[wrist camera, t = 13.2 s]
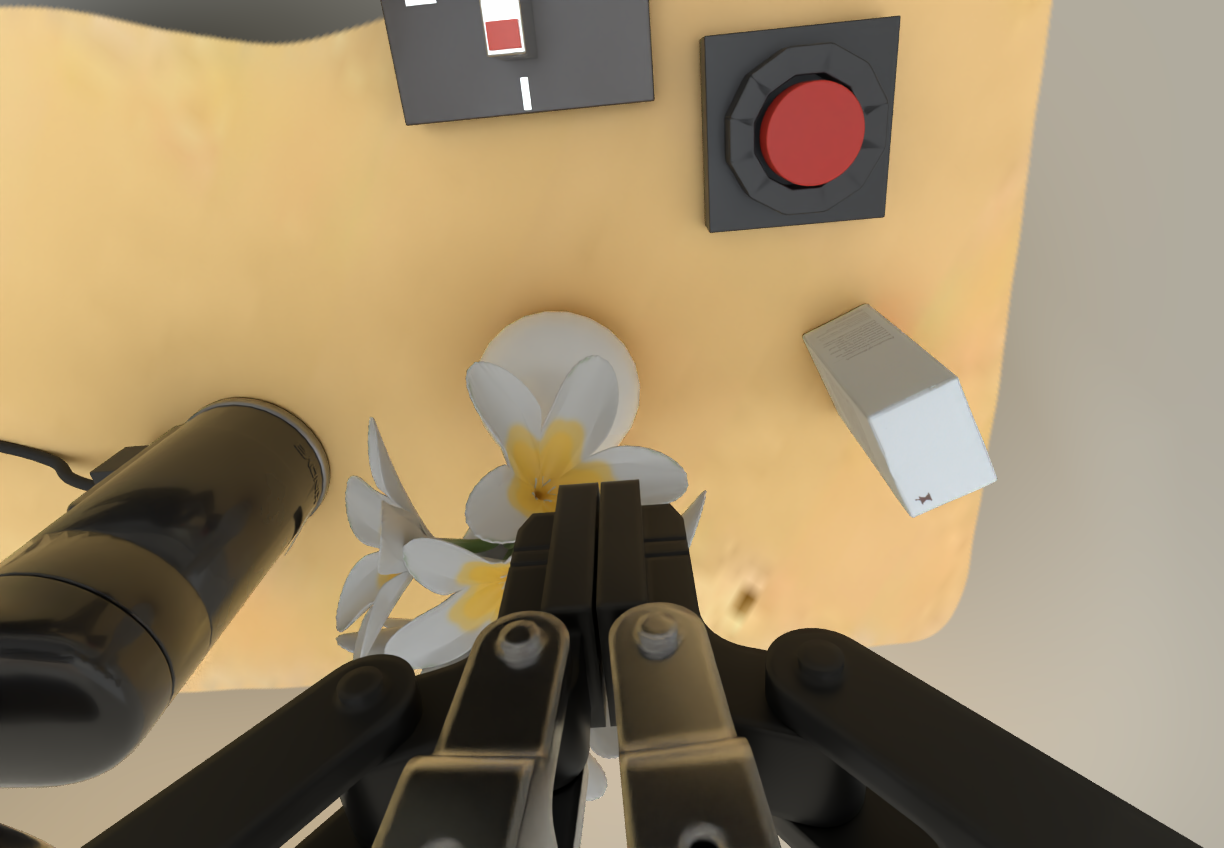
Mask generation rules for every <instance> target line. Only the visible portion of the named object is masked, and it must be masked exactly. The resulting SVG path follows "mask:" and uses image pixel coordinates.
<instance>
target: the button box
mask: <svg viewBox="0 0 1224 848" xmlns="http://www.w3.org/2000/svg"><path fill="white" fill-rule="evenodd" d="M900 18H901V17H900V16H891V17H882V18H872V19H863V20H853V21H844V22H834V23H825V24H815V25H806V26H796V27H787V28H777V29H768V30H758V31H748V32H739V33H729V34H720V35H710V36H705V37H703V38H702V39H700V72H701V104H702V137H703V170H704V203H705V226H706V227H707V229H708V230H709V232H710V233H714V232H725V231H736V230H748V229H759V228H770V227H781V226H792V225H803V224H814V223H826V222H837V221H848V220H859V219H870V218H881V217H884V216H885V204H886V191H887V179H888V167H889V154H890V142H891V129H892V117H893V105H894V92H895V80H896V67H897V55H898V43H899V30H900ZM812 80H829V81H833V82H837V83H839V84H841V85H843V86H844V87H846V88H848V89H849V90H850V91H851V92H852V93H853V94H854V95H855V97H856V98H857V100H858V101H859V103H860V105H861V108H862V110H863V114H864V120H865V133H864V139H863V143H862V146H861V148H860V151H859V153H858V155H857V157H856V158H855V160H854V161H853V163H852V164H851V165H850V166H849V168H848V169H847V170H846V171H845V172H844V173H842V174H841V175H840V176H838V177H837V178H835V179H834V180H832V181H830V182H827V183H825V184H821V185H817V186H801V185H797V184H794V183H792V182H789V181H787V180H786V179H784V178H782V177H780V176H778V175H777V174H776V173H775V172H773V171H772V170H771V168H770V167H769V166H768V165H767V163H766V162H765V159H764V157H763V155H762V152H761V148H760V138H759V137H760V127H761V123H762V120H763V117H764V115H765V112H766V110H767V109H768V107H769V105H770V104H771V103H772V101H773V100H774V99H775V98H776V97H777V96H778V95H779V94H780V93H781V92H782V91H784V90H785V89H787V88H788V87H790V86H792V85H794V84H797V83H800V82H804V81H812Z"/></svg>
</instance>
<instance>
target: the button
mask: <svg viewBox="0 0 1224 848" xmlns="http://www.w3.org/2000/svg"><path fill="white" fill-rule="evenodd" d="M864 133H865V120H864V114H863V110H862V108H861V105H860V103H859V101H858V100H857V98H856V97H855V95H854V94H853V93H852V92H851V91H850V90H849V89H848V88H846V87H844V86H843V85H841V84H839V83H837V82H833V81H829V80H812V81H804V82H800V83H797V84H794V85H792V86H790V87H788V88H787V89H785V90H784V91H782V92H781V93H780V94H779V95H778V96H777V97H776V98H775V99H774V100H773V101H772V103H771V104H770V105H769V107H768V109H767V110H766V112H765V115H764V117H763V120H762V123H761V127H760V137H759V138H760V148H761V152H762V155H763V157H764V159H765V162H766V163H767V165H768V166H769V167H770V168H771V170H772V171H773V172H775V173H776V174H777V175H778V176H780V177H782V178H784V179H786V180H787V181H789V182H792V183H794V184H797V185H801V186H817V185H821V184H825V183H827V182H830V181H832V180H834V179H835V178H837V177H838V176H840V175H841V174H842V173H844V172H845V171H846V170H847V169H848V168H849V166H850V165H851V164H852V163H853V161H854V160H855V158H856V157H857V155H858V153H859V151H860V148H861V146H862V143H863V139H864Z"/></svg>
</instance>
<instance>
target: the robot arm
mask: <svg viewBox="0 0 1224 848" xmlns="http://www.w3.org/2000/svg"><path fill="white" fill-rule="evenodd" d="M0 452H2V453H6V454H11V455H15V456H19V457H23V458H26V459H30V460H33V461H36V462H39V463H42V464H45V465H47V466H50V467H52V468H53V469H55V471H56V472H57V474H58V476H59V477H60V478H61V479H62V480H63V481H64V482H65V483H67V484H69V485H71V486H73V487H76V488H79V489H82V490H85V491H87V492H85V493H84V494H83V495H81V496H80V497H79V498H77V499H76V500H75V501H73V502H72V503H71V504H70V505H69V506H68V509H67V513H65V514H64V515H63V516H61V517H60V518H59V519H57V520H56V521H55V522H53V523H52V524H51V525H49V526H48V527H47V528H45V529H44V530H43V531H41V532H40V533H39V534H37V535H36V536H35V537H34V538H32V539H31V540H30V541H28V542H27V543H26V544H25V545H23V546H22V547H21V548H19V549H18V550H17V551H15V552H14V553H13V554H11V555H10V556H9V557H7V558H6V559H5V560H3V561H2V562H1V563H0V789H4V788H44V787H57V786H64V785H70V784H75V783H78V782H83V781H86V780H89V779H92V778H94V777H97V776H99V775H101V774H103V773H105V772H107V771H109V770H111V769H112V768H114V767H115V766H117V765H118V764H119V763H121V762H122V761H123V760H124V759H125V758H127V757H128V756H129V755H130V754H131V753H132V752H133V751H134V750H135V749H136V748H137V746H138V745H139V744H140V743H141V742H142V741H143V739H144V738H145V737H146V735H147V734H148V733H149V731H150V730H151V729H152V727H153V726H154V724H155V723H156V722H157V721H158V719H159V718H160V716H161V715H162V714H163V713H164V711H165V709H166V708H167V707H168V706H169V704H170V703H171V702H172V700H173V699H174V698H175V696H176V695H177V694H178V692H179V691H180V690H181V688H182V687H183V686H184V684H185V683H186V682H187V680H188V679H189V678H190V676H191V675H192V674H193V672H194V671H195V670H196V668H197V667H198V665H199V664H200V663H201V661H202V660H203V659H204V657H205V656H206V654H207V653H208V652H209V650H210V649H211V648H212V646H213V645H214V644H215V642H216V641H217V640H218V638H219V637H220V636H221V634H222V633H223V631H224V630H225V629H226V627H227V626H228V625H229V623H230V622H231V621H232V619H233V618H234V617H235V615H236V614H237V613H238V611H239V610H240V609H241V607H242V606H243V605H244V603H245V602H246V601H247V599H248V598H249V597H250V595H251V594H252V593H253V591H254V590H255V588H256V587H257V586H258V584H259V583H260V582H261V580H262V579H263V578H264V576H265V575H266V574H267V572H268V571H269V570H270V568H271V567H272V566H273V564H274V563H275V562H276V560H277V559H278V558H279V556H280V555H281V554H282V552H283V551H284V550H285V548H286V547H287V545H288V544H289V543H290V541H291V540H292V539H293V538H294V536H295V535H296V536H295V538H294V540H293V541H292V543H291V545H290V547H289V549H290V548H291V547H292V545H293V543H294V541H295V539H296V538H297V536H298V534H299V532H300V531H301V529H302V527H303V525H304V523H305V522H306V520H307V519H308V518H309V517H310V516H311V515H312V514H313V513H314V512H315V511H316V509H317V508H318V507H319V505H320V504H321V503H322V501H323V500H324V498H325V496H326V493H327V491H328V487H329V481H330V470H329V464H328V460H327V457H326V454H325V452H324V450H323V448H322V446H321V444H320V442H319V441H318V439H317V438H316V437H315V435H314V434H313V433H312V432H311V431H310V429H309V428H308V427H307V426H306V425H305V424H304V423H302V422H301V421H300V420H299V419H298V418H296V417H295V416H293V415H292V414H290V413H289V412H287V411H285V410H283V409H281V408H279V407H277V406H275V405H273V404H270V403H267V402H264V401H260V400H255V399H249V398H230V399H224V400H220V401H217V402H214V403H211V404H209V405H207V406H206V407H204V408H202V409H201V410H200V411H198V412H197V413H196V414H194V415H193V416H192V417H191V418H190V419H189V420H188V421H187V422H186V423H185V424H184V425H182V426H175V427H173V428H172V429H171V430H169V431H168V432H166V433H165V434H164V435H162V436H161V437H160V438H158V439H157V440H156V441H154V442H153V443H152V444H150V445H147V446H134V447H125V448H124V449H122V450H121V451H119V452H118V453H117V454H115V455H114V456H112V457H111V458H110V459H108V460H107V461H105V462H104V463H103V464H101V465H100V466H98V467H97V468H95V469H94V470H93V471H91V472H90V475H91V477H92V479H93V480H91V479H87V478H84V477H81V476H79V475H77V474H75V473H73V472H72V471H71V469H70V467H69V466H68V464H67V463H66V462H65V461H64V460H62V459H61V458H59V457H57V456H54V455H51V454H49V453H46V452H43V451H40V450H36V449H33V448H29V447H25V446H21V445H17V444H13V443H8V442H4V441H0ZM297 532H298V533H297ZM289 549H288V550H287V552H288V551H289ZM287 552H286V553H287ZM285 555H286V554H285ZM606 701H607V702H608V710H609V718H610V727H612V726H617V734H618V745H619V762H620V775H621V785H622V795H623V805H624V816H625V828H626V839H627V848H781V845H780V842H779V838H778V835H779V836H780V838H781V839H782V840H784V841H785V842H786V843H787V844H788V845H789V846H790V847H791V848H1203V847H1201V846H1200V845H1198V844H1196V843H1194V842H1193V841H1191V840H1190V839H1188V838H1186V837H1184V836H1183V835H1181V834H1179V833H1178V832H1176V831H1174V830H1173V829H1171V828H1169V827H1167V826H1166V825H1164V824H1163V823H1161V822H1159V821H1157V820H1156V819H1154V818H1152V817H1151V816H1149V815H1147V814H1146V813H1144V812H1142V811H1140V810H1139V809H1137V808H1135V807H1134V806H1132V805H1131V804H1129V803H1127V802H1126V801H1124V800H1122V799H1120V798H1119V797H1117V796H1115V795H1114V794H1112V793H1110V792H1109V791H1107V790H1105V789H1104V788H1102V787H1100V786H1099V785H1097V784H1095V783H1093V782H1092V781H1090V780H1088V779H1087V778H1085V777H1083V776H1082V775H1080V774H1078V773H1077V772H1075V771H1073V770H1071V769H1070V768H1068V767H1067V766H1065V765H1063V764H1062V763H1060V762H1058V761H1056V760H1054V759H1053V758H1051V757H1050V756H1048V755H1046V754H1045V753H1043V752H1041V751H1040V750H1038V749H1036V748H1035V747H1033V746H1031V745H1030V744H1028V743H1026V742H1024V741H1023V740H1021V739H1019V738H1018V737H1016V736H1014V735H1013V734H1011V733H1009V732H1008V731H1006V730H1004V729H1003V728H1001V727H999V726H997V725H996V724H994V723H992V722H991V721H989V720H987V719H986V718H984V717H982V716H981V715H979V714H977V713H976V712H974V711H972V710H970V709H969V708H967V707H966V706H964V705H962V704H960V703H959V702H957V701H955V700H954V699H952V698H950V697H949V696H947V695H945V694H944V693H942V692H940V691H939V690H936V689H935V688H934V687H932V686H930V685H928V684H927V683H925V682H923V681H922V680H920V679H918V678H917V677H915V676H913V675H912V674H910V673H908V672H907V671H905V670H903V669H902V668H900V667H898V666H896V665H895V664H893V663H891V662H890V661H888V660H886V659H885V658H883V657H881V656H880V655H878V654H876V653H875V652H873V651H871V650H870V649H868V648H866V647H864V646H863V645H861V644H859V643H858V642H856V641H854V640H853V639H851V638H849V637H847V636H845V635H843V634H840V633H837V632H834V631H830V630H826V629H819V628H805V629H797V630H793V631H790V632H788V633H785V634H783V635H781V636H780V637H778V638H777V639H776V640H775V641H774V642H773V643H772V644H771V645H770V647H769V648H768V651H767V650H761V649H756V648H750V647H745V646H741V645H737V644H735V643H732V642H729V641H727V640H725V639H723V638H721V637H720V636H718V635H717V634H715V633H714V632H713V631H712V630H710V629H709V628H708V627H707V625H706V624H705V623H704V621H703V619H702V618H701V615H700V612H699V607H698V601H697V595H696V589H695V583H694V577H693V571H692V565H691V559H690V555H689V548H688V542H687V536H686V530H685V524H684V518H683V517H682V516H681V515H680V514H679V513H678V512H677V511H676V510H675V509H674V508H673V507H672V506H671V504H670V503H669V504H655V505H641V495H640V483H639V479H634V480H621V481H607V482H601V488H600V490H599V484H598V482H595V483H582V484H568V485H559V488H558V495H557V502H556V509H555V512H545V513H533V514H532V515H531V516H530V517H529V518H528V519H527V520H526V521H525V522H524V524H523V525H522V526H521V527H520V528H519V529H518V531H517V535H516V540H515V544H514V552H513V553H512V557H511V561H510V567H509V570H508V575H507V579H506V583H505V588H504V592H503V596H502V601H501V605H500V609H499V614H498V618H497V620H495V621H493V622H492V623H490V624H489V625H488V626H486V627H485V628H484V629H483V630H482V631H481V632H480V634H479V635H478V636H477V638H476V640H475V642H474V644H473V646H472V649H471V652H470V654H469V656H468V657H466V658H465V659H463V660H461V661H459V662H457V663H454V664H451V665H449V666H446V667H442V668H439V669H436V670H433V671H430V672H426V673H423V674H420V675H417V676H415V673H414V670H413V668H412V666H411V665H410V664H409V663H408V662H407V661H406V660H405V659H403V658H401V657H398V656H395V655H389V654H375V655H369V656H365V657H361V658H358V659H355V660H353V661H350V662H348V663H346V664H344V665H342V666H341V667H339V668H337V669H336V670H334V671H333V672H331V673H330V674H328V675H327V676H326V677H324V678H323V679H321V680H320V681H318V682H317V683H316V684H314V685H313V686H311V687H310V688H308V689H307V690H306V691H304V692H303V693H301V694H300V695H298V696H297V697H295V698H294V699H293V700H291V701H290V702H288V703H287V704H285V705H284V706H283V707H281V708H280V709H278V710H277V711H276V712H274V713H273V714H271V715H270V716H268V717H267V718H265V719H264V720H263V721H261V722H260V723H258V724H257V725H255V726H254V727H253V728H251V729H250V730H248V731H247V732H246V733H244V734H243V735H241V736H240V737H238V738H237V739H235V740H234V741H233V742H231V743H230V744H228V745H227V746H225V747H224V748H223V749H221V750H220V751H219V752H217V753H215V754H214V755H213V756H211V757H210V758H208V759H207V760H205V761H204V762H203V763H201V764H200V765H198V766H197V767H195V768H194V769H193V770H191V771H190V772H188V773H187V774H185V775H184V776H183V777H181V778H180V779H178V780H177V781H175V782H174V783H173V784H171V785H170V786H168V787H167V788H166V789H164V790H162V791H161V792H160V793H158V794H157V795H155V796H154V797H153V798H151V799H150V800H148V801H147V802H145V803H144V804H142V805H141V806H140V807H138V808H137V809H135V810H134V811H132V812H131V813H130V814H128V815H127V816H125V817H124V818H122V819H121V820H120V821H118V822H117V823H115V824H114V825H113V826H111V827H110V828H108V829H107V830H106V831H104V832H102V833H101V834H100V835H98V836H97V837H95V838H94V839H92V840H91V841H90V842H88V843H87V844H85V845H84V846H82V847H81V848H280V847H281V846H282V845H283V844H284V843H286V842H287V841H288V840H289V839H290V838H292V837H293V836H294V835H295V834H296V833H298V832H299V831H300V830H301V829H302V828H303V827H304V826H306V825H307V824H308V823H309V822H310V821H312V820H313V819H314V818H315V817H316V816H318V815H319V814H320V813H321V812H322V811H323V810H325V809H326V808H327V807H328V806H329V805H330V804H332V803H333V802H334V801H335V800H336V799H338V798H339V797H340V799H341V802H342V805H343V806H342V807H341V808H340V809H339V810H338V811H336V812H335V813H334V814H333V815H332V816H331V817H330V818H328V819H327V820H326V821H325V822H324V823H322V824H321V825H320V826H319V827H318V828H317V829H315V830H314V831H313V832H312V833H311V834H310V835H308V836H307V837H306V838H305V839H304V840H303V841H301V842H300V843H299V844H298V845H297V846H296V847H295V848H580V844H581V836H582V828H583V819H584V812H585V802H586V795H587V787H588V779H589V769H588V763H587V759H588V757H589V749H590V728H599V727H606ZM777 834H778V835H777ZM0 848H55V847H53V846H52V845H50V844H48V843H47V842H45V841H43V840H41V839H39V838H36V837H34V836H32V835H30V834H28V833H25V832H23V831H20V830H17V829H15V828H12V827H9V826H7V825H4V824H1V823H0Z"/></svg>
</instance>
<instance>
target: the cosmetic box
mask: <svg viewBox="0 0 1224 848" xmlns="http://www.w3.org/2000/svg"><path fill="white" fill-rule="evenodd" d="M803 340H804V342H805V344H806V346H807V348H808V351H809V353H810V355H811V357H812V359H813V361H814V363H815V366H816V368H817V370H818V372H819V374H820V376H821V378H822V380H823V383H824V385H825V387H826V389H827V391H828V393H829V395H830V397H831V399H832V401H833V404H834V406H835V408H836V410H837V412H838V414H839V416H840V417H841V419H842V420H843V421H844V423H845V424H846V426H847V427H848V429H849V430H850V432H851V433H852V434H853V436H854V437H855V439H856V440H857V442H858V443H859V444H860V446H861V447H862V448H863V450H864V451H865V453H866V454H867V456H868V457H869V458H870V460H871V461H872V463H873V464H874V466H875V467H876V469H877V470H878V471H879V473H880V474H881V476H882V477H883V479H884V480H885V481H886V483H887V484H888V486H889V487H890V489H891V490H892V492H893V493H894V495H895V496H896V498H897V499H898V500H899V502H900V503H901V505H902V506H903V507H904V509H905V510H906V511H907V513H908V514H909V515H910V516H911V517H916V516H918V515H920V514H922V513H925V512H927V511H929V510H932V509H934V508H936V507H938V506H941V505H943V504H945V503H948V502H950V501H952V500H955V499H957V498H960V497H962V496H964V495H967V494H969V493H971V492H974V491H976V490H978V489H980V488H983V487H985V486H987V485H989V484H991V483H993V482H995V481H997V476H996V473H995V471H994V468H993V465H992V463H991V460H990V457H989V454H988V452H987V449H986V447H985V444H984V441H983V439H982V437H981V434H980V432H979V430H978V427H977V425H976V422H975V420H974V418H973V415H972V413H971V410H970V407H969V405H968V402H967V400H966V397H965V395H964V392H963V390H962V387H961V385H960V382H959V379H958V377H957V376H956V375H954V374H953V373H952V372H951V371H950V370H948V369H947V368H946V367H945V366H943V365H942V364H941V363H940V362H938V361H937V360H936V359H935V358H934V357H932V356H931V355H930V354H929V353H928V352H926V351H925V350H924V349H923V348H922V347H920V346H919V345H918V344H917V343H915V342H914V341H913V340H912V339H910V338H909V337H908V336H907V335H906V334H904V333H903V332H902V331H901V330H900V329H898V328H897V327H896V326H894V325H893V324H892V323H891V322H890V321H888V320H887V319H886V318H885V317H884V316H882V315H881V314H880V313H879V312H877V311H876V310H875V309H874V308H872V307H871V306H870V305H869V304H863V305H861V306H859V307H857V308H856V309H854V310H852V311H850V312H848V313H846V314H844V315H842V316H840V317H838V318H836V319H834V320H832V321H830V322H828V323H826V324H824V325H822V326H820V327H818V328H816V329H814V330H812V331H810V332H808V333H806V334H804V335H803Z"/></svg>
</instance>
